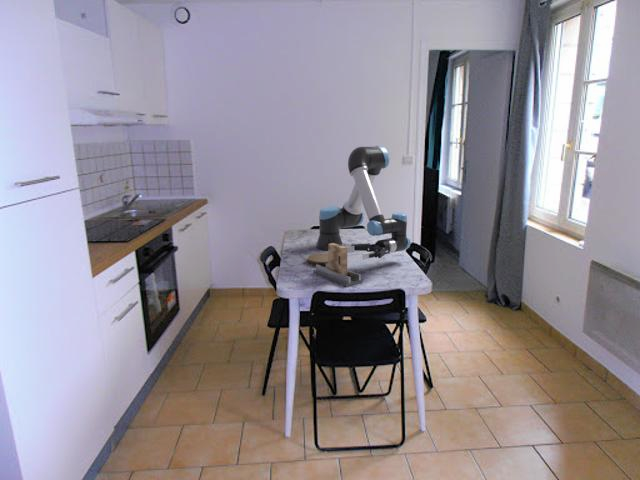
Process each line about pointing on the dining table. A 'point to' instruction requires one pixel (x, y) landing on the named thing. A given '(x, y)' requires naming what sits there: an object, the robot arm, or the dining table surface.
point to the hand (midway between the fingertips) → (353, 253)
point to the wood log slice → (318, 259)
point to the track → (338, 276)
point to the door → (337, 258)
